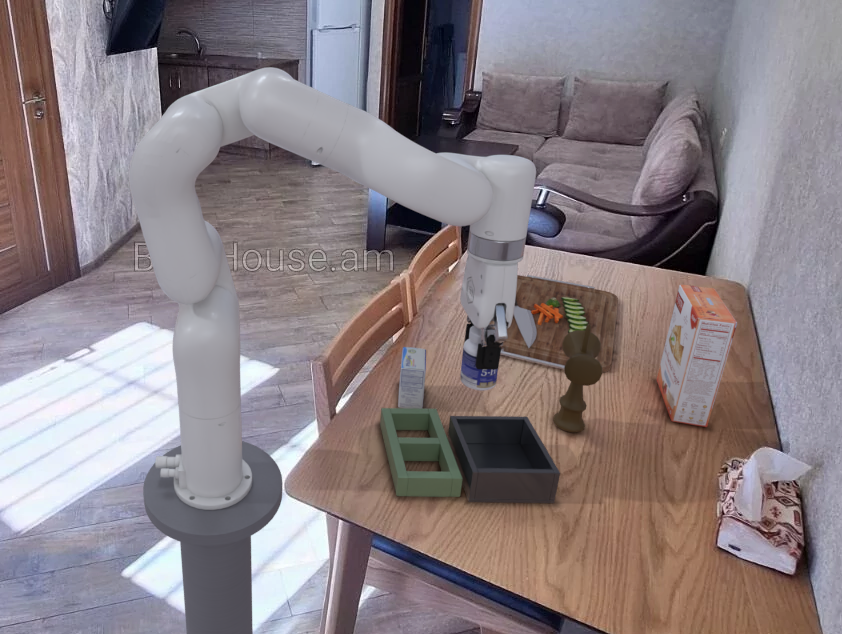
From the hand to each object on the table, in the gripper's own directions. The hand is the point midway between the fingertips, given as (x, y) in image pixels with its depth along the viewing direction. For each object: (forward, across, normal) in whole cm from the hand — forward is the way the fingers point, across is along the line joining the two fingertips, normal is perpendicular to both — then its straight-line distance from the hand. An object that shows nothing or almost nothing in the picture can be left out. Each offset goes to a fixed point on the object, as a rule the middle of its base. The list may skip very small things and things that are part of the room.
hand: (480, 356), depth 97 cm
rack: (+19, -1, -8) cm, 21 cm away
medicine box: (+20, -18, -6) cm, 27 cm away
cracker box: (+20, -16, +43) cm, 50 cm away
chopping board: (+20, -49, +32) cm, 62 cm away
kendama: (+20, -10, +20) cm, 30 cm away
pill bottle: (+5, 0, 0) cm, 5 cm away
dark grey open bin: (+19, +2, +4) cm, 20 cm away
